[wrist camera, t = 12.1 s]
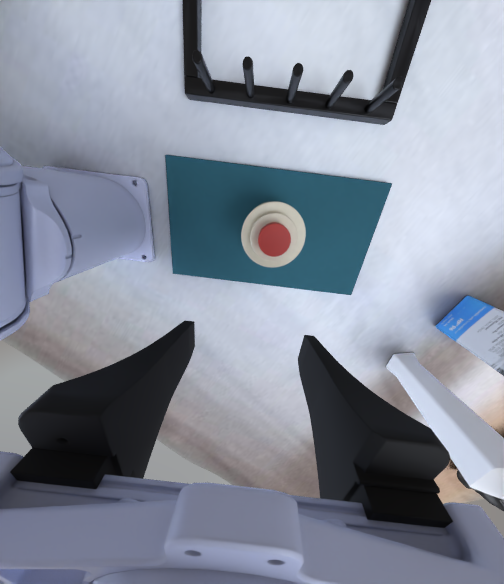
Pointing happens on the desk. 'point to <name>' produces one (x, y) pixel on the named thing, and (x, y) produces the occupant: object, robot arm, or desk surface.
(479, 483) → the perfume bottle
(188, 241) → the mat
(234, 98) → the drying rack
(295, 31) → the desk surface
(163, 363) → the robot arm
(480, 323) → the ink box
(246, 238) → the cream bottle
